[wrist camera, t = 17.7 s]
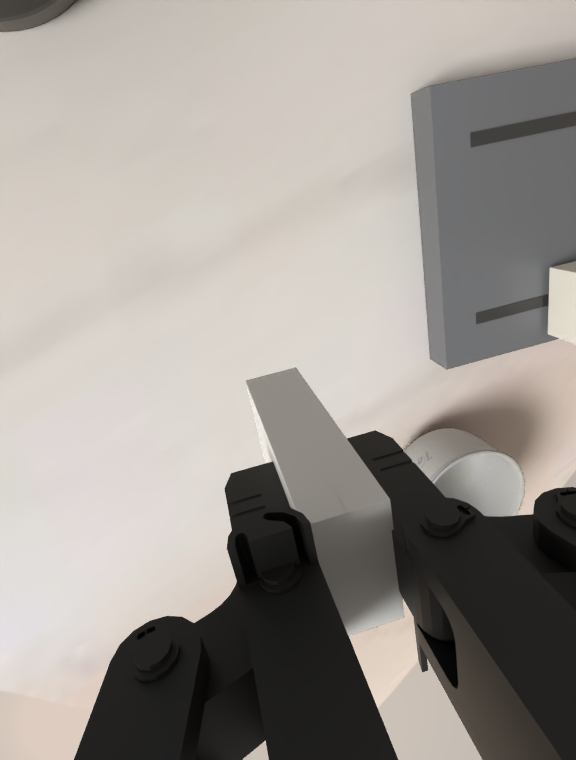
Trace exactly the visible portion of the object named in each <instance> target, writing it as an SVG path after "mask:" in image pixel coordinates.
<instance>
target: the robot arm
mask: <svg viewBox="0 0 576 760" xmlns="http://www.w3.org/2000/svg"><path fill="white" fill-rule="evenodd" d="M74 1H75V0H0V32H9V31H19V30H24V29H28V28H32V27H35V26H38V25H41V24H43V23H45V22H47V21H49V20H51V19H53V18H55V17H56V16H58V15H59V14H61V13H62V12H63V11H65V10H66V9H67V8H68V7H69V6H70V5H71V4H72V3H74ZM246 385H247V389H248V393H249V397H250V401H251V406H252V410H253V414H254V418H255V422H256V426H257V430H258V434H259V439H260V443H261V447H262V451H263V455H264V459H265V463H266V464H262V465H259V466H255V467H252V468H248V469H245V470H241V471H238V472H234V473H231V475H230V478H229V480H228V482H227V484H226V487H225V493H226V499H227V504H228V510H229V516H230V521H231V527H232V531H231V533H230V535H229V536H228V544H227V550H228V553H229V556H230V560H231V563H232V566H233V570H234V573H235V576H236V579H237V583H236V586H235V588H234V589H233V591H232V593H231V594H230V596H229V597H228V598H227V599H226V600H225V601H224V602H223V604H222V605H220V606H219V607H218V608H216V609H215V610H214V611H212V612H211V613H210V614H208V615H207V616H205V617H203V618H202V619H200V620H199V621H197V622H196V623H192V622H190V621H189V620H187V619H185V618H183V617H175V616H165V617H162V618H158V619H155V620H151V621H149V622H147V623H146V624H144V625H143V626H141V627H139V628H138V629H136V630H134V631H133V632H132V633H131V634H130V635H129V636H128V637H127V638H126V639H125V640H124V641H123V642H122V643H121V644H120V646H119V647H118V649H117V651H116V653H115V655H114V656H113V658H112V660H111V662H110V664H109V667H108V670H107V672H106V675H105V678H104V681H103V683H102V686H101V689H100V691H99V694H98V697H97V699H96V702H95V705H94V707H93V710H92V713H91V715H90V718H89V721H88V724H87V726H86V729H85V732H84V734H83V737H82V740H81V742H80V745H79V748H78V751H77V753H76V756H75V758H74V760H242V759H243V758H244V757H246V756H247V755H248V754H249V753H250V752H252V751H253V750H254V749H255V748H257V747H258V746H259V745H260V744H262V743H263V742H264V741H265V740H266V745H267V750H268V756H269V760H398V758H397V756H396V753H395V751H394V748H393V746H392V744H391V741H390V738H389V736H388V733H387V731H386V728H385V726H384V723H383V721H382V718H381V716H380V713H379V711H378V708H377V706H376V703H375V701H374V698H373V696H372V693H371V691H370V689H369V686H368V684H367V681H366V679H365V676H364V674H363V671H362V669H361V666H360V664H359V661H358V659H357V656H356V654H355V651H354V649H353V646H352V644H351V641H350V639H349V636H351V635H354V634H357V633H360V632H363V631H366V630H369V629H372V628H375V627H378V626H380V625H383V624H386V623H389V622H392V621H395V620H398V619H401V618H404V617H405V615H404V607H403V599H404V601H405V602H406V604H407V606H408V608H409V609H410V611H411V613H412V615H413V616H414V624H415V633H416V641H417V650H418V659H419V663H420V666H421V669H422V672H425V671H427V670H428V665H427V659H428V660H429V662H430V664H431V666H432V668H433V670H434V671H435V673H436V675H437V677H438V679H439V681H440V682H441V684H442V686H443V688H444V690H445V692H446V693H447V695H448V697H449V699H450V701H451V703H452V704H453V706H454V708H455V710H456V712H457V713H458V715H459V717H460V719H461V721H462V723H463V725H464V726H465V728H466V730H467V732H468V734H469V735H470V737H471V739H472V741H473V743H474V745H475V746H476V748H477V750H478V752H479V754H480V756H481V757H482V759H483V760H576V488H574V487H568V488H555V489H553V490H550V491H547V492H544V493H542V494H541V495H540V496H539V497H538V498H537V499H536V500H535V504H534V513H533V515H518V516H502V517H499V516H484V515H483V514H482V513H481V512H480V511H479V510H477V509H476V508H475V507H473V506H472V505H470V504H469V503H467V502H464V501H461V500H458V499H455V498H447V497H445V496H444V495H443V494H442V493H441V491H440V490H439V489H438V488H437V487H436V486H435V485H434V484H433V483H432V481H431V480H430V479H429V478H428V477H427V476H426V475H425V474H424V473H423V472H422V470H421V469H420V468H419V467H418V466H417V465H416V464H415V463H414V462H412V459H411V458H410V457H409V456H408V455H407V454H406V453H404V452H403V449H402V448H401V447H400V446H399V445H398V444H397V443H396V442H395V441H394V439H393V438H391V437H389V436H386V435H384V434H382V433H380V432H377V431H372V432H368V433H365V434H361V435H358V436H354V437H351V438H346V437H345V436H344V434H343V433H342V431H341V430H340V429H339V427H338V426H337V424H336V423H335V422H334V420H333V419H332V417H331V416H330V415H329V413H328V412H327V410H326V409H325V408H324V406H323V405H322V403H321V402H320V401H319V399H318V398H317V396H316V395H315V394H314V392H313V391H312V389H311V388H310V387H309V385H308V384H307V382H306V381H305V380H304V378H303V377H302V375H301V374H300V373H299V371H298V370H297V368H292V369H288V370H285V371H281V372H277V373H273V374H269V375H265V376H262V377H258V378H254V379H250V380H246ZM402 597H403V599H402Z"/></svg>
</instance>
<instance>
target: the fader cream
mask: <svg viewBox="0 0 576 760" xmlns="http://www.w3.org/2000/svg"><path fill="white" fill-rule="evenodd" d="M548 334H549V335H551V336H554V337H557V338H559V339H562V340H565V341H567V342H570V343H573V344H576V261H574V262H570V263H566V264H562V265H558V266H554V267H550V275H549V308H548Z"/></svg>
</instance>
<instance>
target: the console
mask: <svg viewBox="0 0 576 760" xmlns="http://www.w3.org/2000/svg"><path fill="white" fill-rule="evenodd" d="M411 103H412V117H413V131H414V144H415V158H416V172H417V185H418V199H419V213H420V227H421V240H422V254H423V268H424V281H425V295H426V309H427V322H428V336H429V350H430V359H431V360H433V361H434V362H436V363H437V364H439V365H441V366H442V367H444V368H445V369H450V368H454V367H458V366H461V365H465V364H469V363H472V362H476V361H479V360H483V359H487V358H490V357H494V356H498V355H501V354H505V353H509V352H512V351H516V350H520V349H523V348H527V347H531V346H534V345H538V344H541V343H545V342H549V341H552V340H556V339H559V338H557V337H554V336H551V335H549V334H548V308H549V275H550V267H554V266H558V265H562V264H566V263H570V262H574V261H576V59H572V60H566V61H561V62H556V63H550V64H545V65H540V66H534V67H529V68H524V69H518V70H513V71H507V72H502V73H497V74H491V75H486V76H481V77H475V78H470V79H465V80H459V81H454V82H449V83H443V84H438V85H433V86H429V87H426V88H424V89H422V90H419V91H417V92H415V93H412V94H411Z"/></svg>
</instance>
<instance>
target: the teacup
mask: <svg viewBox="0 0 576 760" xmlns="http://www.w3.org/2000/svg"><path fill="white" fill-rule="evenodd" d="M404 453H406V454H407V455H408V456H409V457H410V458H411V459H412V462H414V463H415V464H416V465H417V466H418V467H419V468H420V469H421V470H422V472H423V473H424V474H425V475H426V476H427V477H428V478H429V479H430V480H431V481H432V483H433V484H434V485H435V486H436V487H437V488H438V489H439V490H440V491H441V493H442V494H443V495H444V496H445V497H447V498H455V499H458V500H461V501H464V502H467V503H469V504H470V505H472V506H473V507H475V508H476V509H477V510H479V511H480V512H481V513H482V514H483V515H484V516H499V517H502V516H516V515H517V514H518V511H519V510H520V507H521V505H522V501H523V498H524V493H525V479H524V475H523V472H522V470H521V468H520V467H519V465H518V463H517V462H516V461H515V460H514V459H513V458H511V457H510V456H509V455H507V454H505V453H503V452H500V451H498V450H497V449H495V448H494V447H493V446H491V445H489V444H488V443H486V442H485V441H483V440H482V439H480V438H478V437H477V436H475V435H473V434H471V433H469V432H466V431H463V430H459V429H453V428H445V429H438V430H434V431H431V432H429V433H426V434H424V435H422V436H421V437H419V438H418V439H416V440H415V441H414V442H413V443H411V444H410V445H409V446H408V447H407V449H406V450H405V451H404Z"/></svg>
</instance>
